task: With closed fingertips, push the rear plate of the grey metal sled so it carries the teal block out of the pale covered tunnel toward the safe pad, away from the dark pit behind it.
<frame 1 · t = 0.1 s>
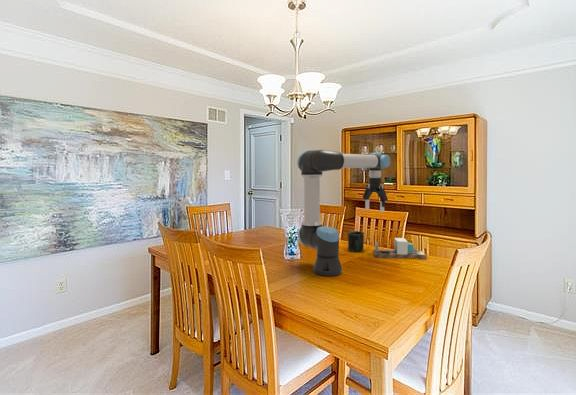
hand: (374, 210, 206), 28 cm above the table, fingers open, 13 cm apart
block: (407, 250, 201), point 3 cm above the table, touching sled
deck: (401, 256, 201), on the table
sled: (395, 247, 201), point 5 cm above the table, slide at 0.0 cm, touching block
mug: (356, 250, 218), on the table
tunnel: (400, 246, 201), on the deck, point 6 cm above the table
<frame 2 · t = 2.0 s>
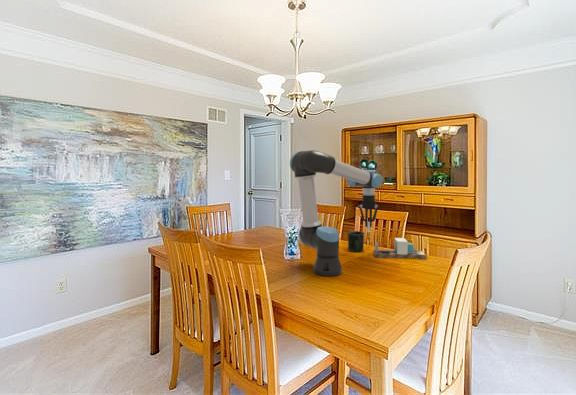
hand: (368, 232, 203), 15 cm above the table, fingers closed
nothing on the table moved.
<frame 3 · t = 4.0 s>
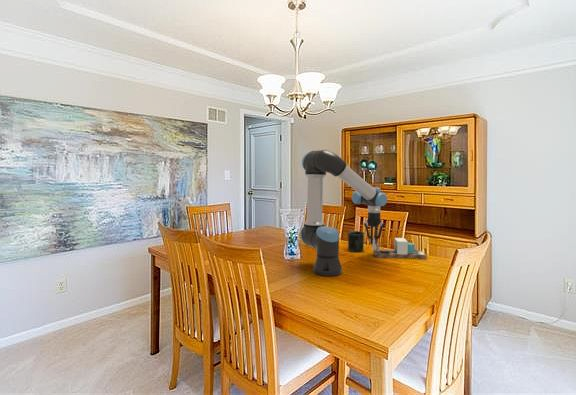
hand: (373, 249, 204), 4 cm above the table, fingers closed
sled: (396, 247, 201), point 5 cm above the table, slide at 0.6 cm, touching block, gripper
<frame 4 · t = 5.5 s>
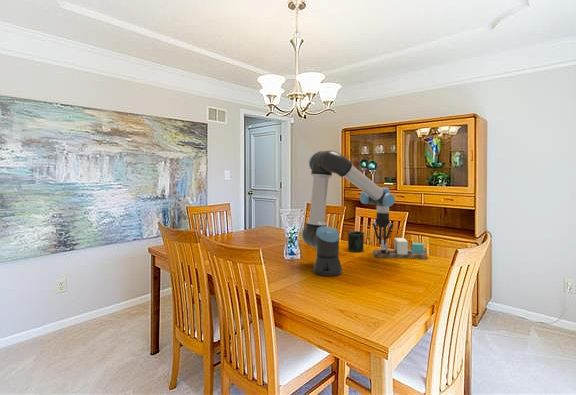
hand: (382, 249, 203), 4 cm above the table, fingers closed
block: (417, 251, 200), point 3 cm above the table, touching sled
sled: (405, 248, 201), point 5 cm above the table, slide at 5.9 cm, touching block, gripper
everything else where it was.
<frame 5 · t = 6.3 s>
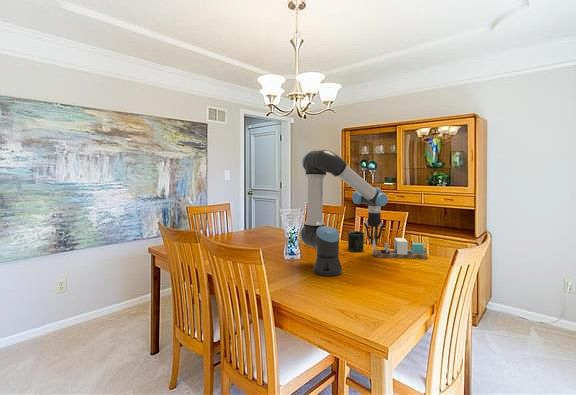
hand: (373, 249, 203), 4 cm above the table, fingers closed
sled: (405, 248, 201), point 5 cm above the table, slide at 5.9 cm, touching block
everything else where it was.
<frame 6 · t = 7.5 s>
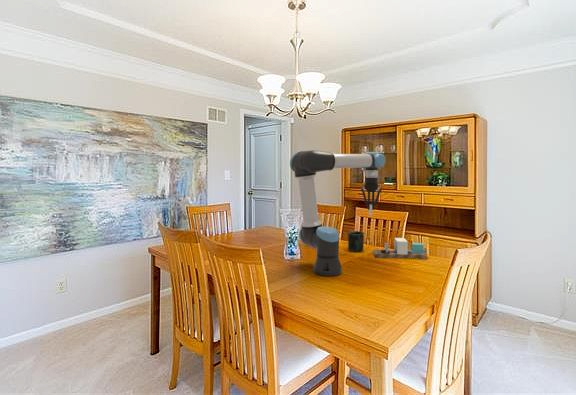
hand: (370, 214, 202), 26 cm above the table, fingers closed
nothing on the table moved.
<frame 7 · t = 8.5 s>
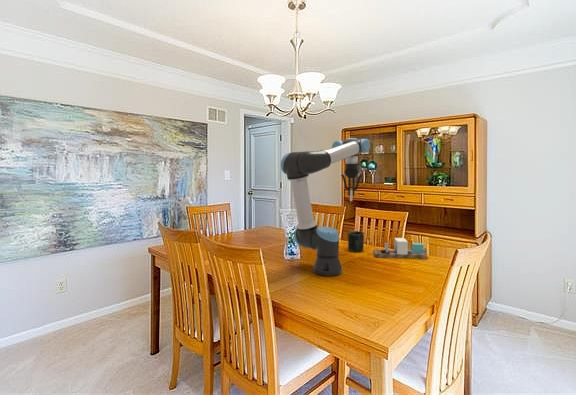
hand: (351, 200, 204), 34 cm above the table, fingers closed
nothing on the table moved.
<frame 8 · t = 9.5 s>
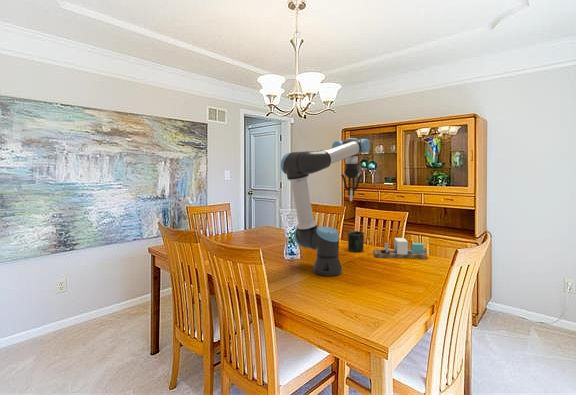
hand: (351, 200, 204), 34 cm above the table, fingers closed
nothing on the table moved.
at the end: sled slide at 5.9 cm; block 0.4 cm from the target spot, point 3.5 cm above the table; block tilted 0° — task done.
